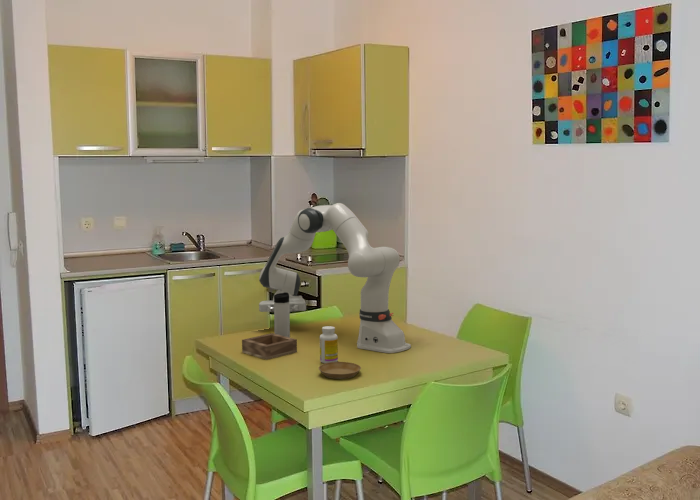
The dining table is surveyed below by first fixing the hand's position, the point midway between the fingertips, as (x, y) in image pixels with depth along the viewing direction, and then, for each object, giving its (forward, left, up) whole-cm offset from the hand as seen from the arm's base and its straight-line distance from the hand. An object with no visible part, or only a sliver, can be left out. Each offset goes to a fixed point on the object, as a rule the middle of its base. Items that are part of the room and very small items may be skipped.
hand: (282, 309), depth 305 cm
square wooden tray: (-18, +22, -11) cm, 30 cm away
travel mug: (-9, +8, -11) cm, 16 cm away
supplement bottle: (-44, +15, -11) cm, 48 cm away
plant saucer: (-58, +23, -11) cm, 63 cm away
